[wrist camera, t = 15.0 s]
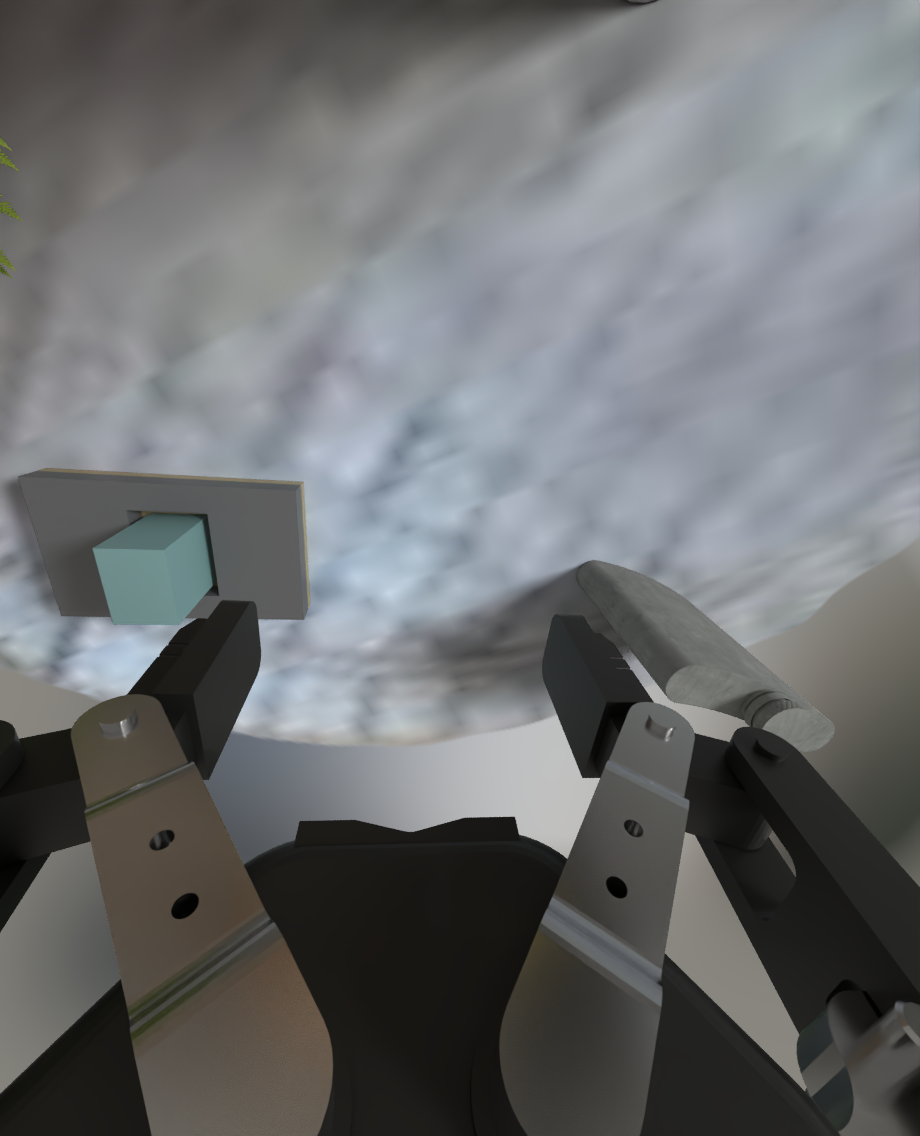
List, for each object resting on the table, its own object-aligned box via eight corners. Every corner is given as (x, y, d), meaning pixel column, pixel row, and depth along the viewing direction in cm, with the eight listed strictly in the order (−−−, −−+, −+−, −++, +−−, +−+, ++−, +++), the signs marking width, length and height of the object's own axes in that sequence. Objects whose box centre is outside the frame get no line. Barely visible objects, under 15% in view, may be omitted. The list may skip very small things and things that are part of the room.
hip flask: (570, 581, 47) (676, 722, 28) (592, 547, 45) (717, 672, 27) (686, 633, 51) (841, 783, 33) (709, 604, 50) (884, 744, 32)
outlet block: (46, 468, 37) (17, 476, 34) (303, 482, 39) (295, 490, 37) (83, 599, 42) (61, 616, 39) (310, 603, 44) (304, 619, 42)
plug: (151, 512, 38) (92, 548, 31) (208, 514, 39) (163, 550, 32) (165, 577, 41) (113, 624, 33) (218, 578, 41) (179, 624, 34)
